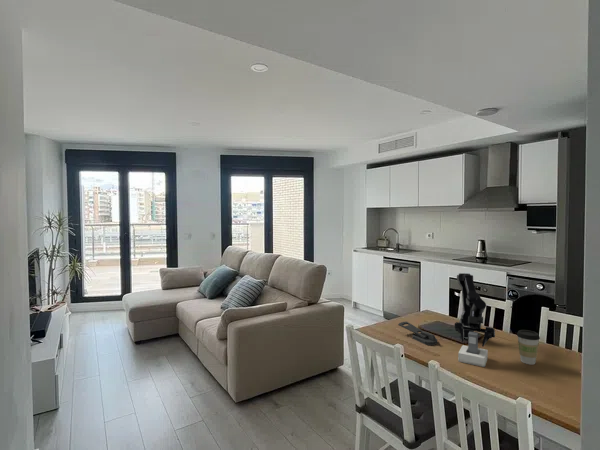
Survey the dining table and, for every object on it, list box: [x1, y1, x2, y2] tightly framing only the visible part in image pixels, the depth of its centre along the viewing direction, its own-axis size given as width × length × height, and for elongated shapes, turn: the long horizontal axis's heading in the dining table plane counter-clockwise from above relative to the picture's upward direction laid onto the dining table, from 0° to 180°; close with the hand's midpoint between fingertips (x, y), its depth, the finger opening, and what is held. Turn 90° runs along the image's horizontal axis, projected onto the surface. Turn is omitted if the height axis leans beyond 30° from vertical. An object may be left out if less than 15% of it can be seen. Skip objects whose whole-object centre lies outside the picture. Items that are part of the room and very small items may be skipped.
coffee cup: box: [516, 329, 541, 365], centre depth 172 cm, size 10×10×15 cm
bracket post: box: [467, 331, 479, 355], centre depth 176 cm, size 5×4×13 cm
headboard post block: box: [457, 344, 489, 368], centre depth 176 cm, size 12×12×4 cm
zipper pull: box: [397, 321, 438, 346], centre depth 208 cm, size 9×7×25 cm
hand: (472, 344), depth 175 cm, fingers open, 9 cm apart
